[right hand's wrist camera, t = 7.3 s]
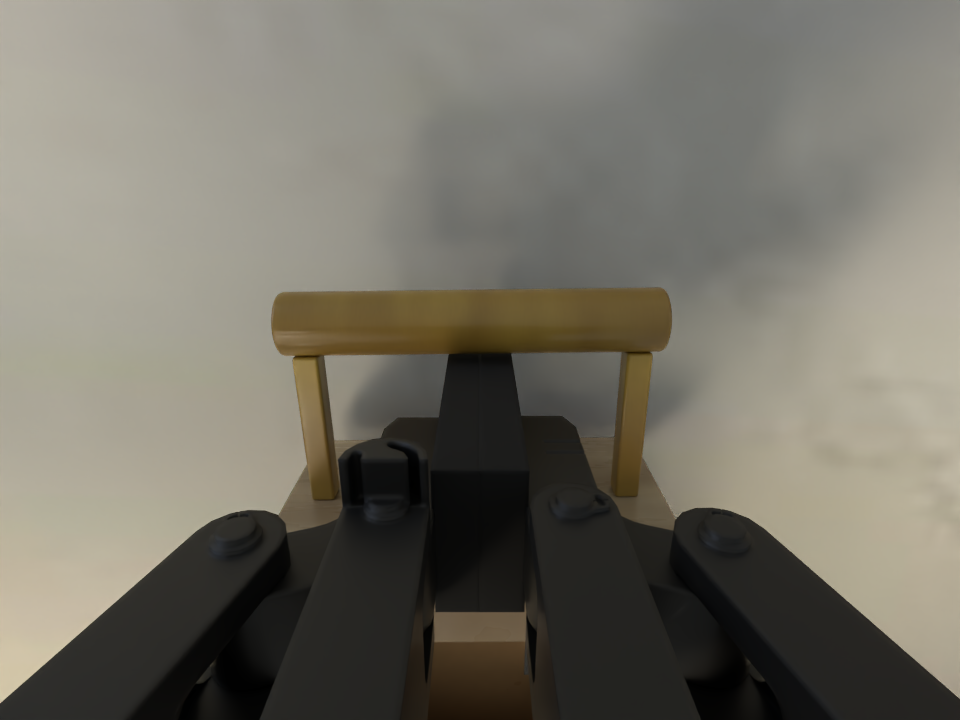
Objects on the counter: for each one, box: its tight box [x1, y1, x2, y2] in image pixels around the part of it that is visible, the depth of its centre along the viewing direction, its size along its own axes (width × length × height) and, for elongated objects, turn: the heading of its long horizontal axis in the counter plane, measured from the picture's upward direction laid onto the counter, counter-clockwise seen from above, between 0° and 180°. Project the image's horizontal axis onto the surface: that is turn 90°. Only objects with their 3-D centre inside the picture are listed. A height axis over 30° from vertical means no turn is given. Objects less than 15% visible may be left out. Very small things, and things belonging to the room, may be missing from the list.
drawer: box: [271, 287, 676, 720], centre depth 16 cm, size 24×10×6 cm, turn 1°
